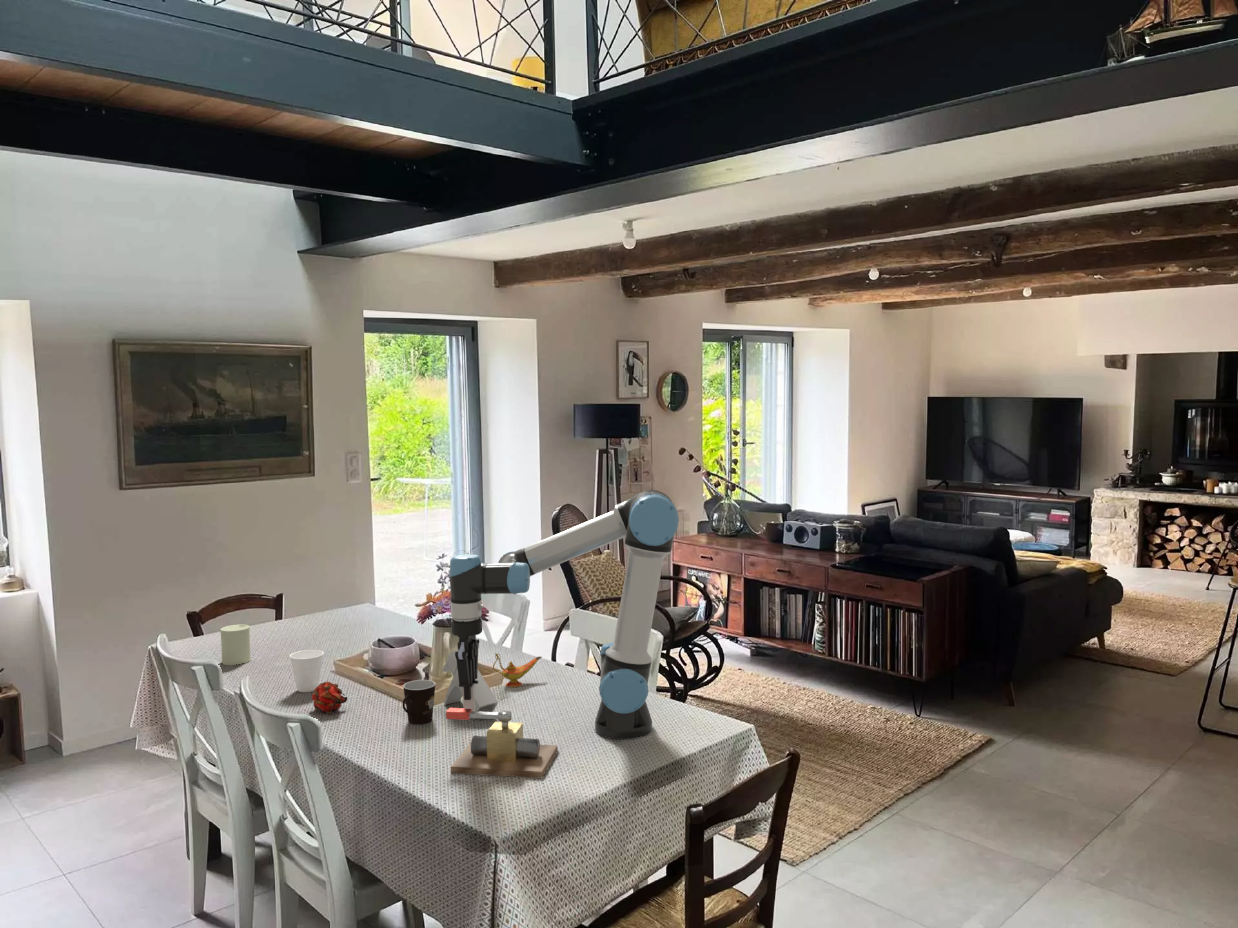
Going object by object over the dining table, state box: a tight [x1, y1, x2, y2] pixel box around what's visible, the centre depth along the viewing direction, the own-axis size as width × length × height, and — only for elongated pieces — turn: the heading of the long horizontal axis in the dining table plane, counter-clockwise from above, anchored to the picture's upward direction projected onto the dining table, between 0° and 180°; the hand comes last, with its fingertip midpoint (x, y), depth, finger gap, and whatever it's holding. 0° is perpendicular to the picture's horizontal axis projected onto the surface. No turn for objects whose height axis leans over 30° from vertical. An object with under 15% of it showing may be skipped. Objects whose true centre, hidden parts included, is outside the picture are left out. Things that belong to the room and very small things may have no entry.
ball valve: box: [470, 721, 541, 762], centre depth 220 cm, size 16×7×9 cm, turn 81°
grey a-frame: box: [442, 649, 499, 720], centre depth 258 cm, size 6×16×20 cm
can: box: [219, 623, 252, 666], centre depth 307 cm, size 9×9×12 cm
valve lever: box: [445, 707, 513, 722], centre depth 221 cm, size 16×3×2 cm, turn 80°
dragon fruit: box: [310, 681, 348, 714], centre depth 258 cm, size 8×8×12 cm
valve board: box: [450, 742, 558, 779], centre depth 220 cm, size 22×16×2 cm
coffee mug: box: [402, 679, 437, 726], centre depth 248 cm, size 12×9×10 cm
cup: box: [288, 649, 325, 693], centre depth 276 cm, size 10×10×11 cm
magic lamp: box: [492, 653, 543, 688], centre depth 280 cm, size 7×18×11 cm, turn 130°
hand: (469, 710), depth 227 cm, fingers closed
